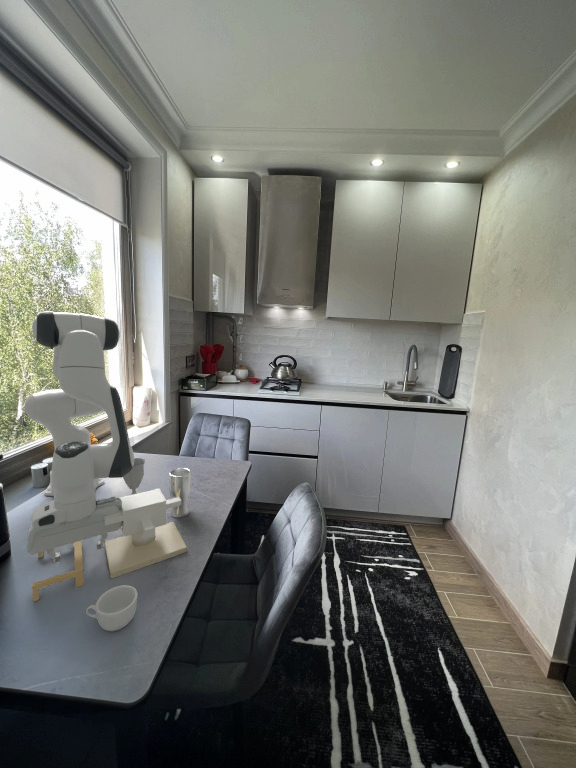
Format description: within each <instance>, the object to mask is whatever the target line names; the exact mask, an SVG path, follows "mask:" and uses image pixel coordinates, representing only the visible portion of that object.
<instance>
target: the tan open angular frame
mask: <svg viewBox="0 0 576 768" xmlns="http://www.w3.org/2000/svg"><path fill="white" fill-rule="evenodd" d="M82 545H83V543H82V540H81V541H78V542H74V543H73V553H74V555H73V556H74V569H73V570H70V571H68V572H64V573H62V574H58V575H55V576H52V577H49V578H45V579H41V580H38V581H35V582H32V585H31V589H32V602H36V601H40V589H43V588H46V587H49V586H52V585H55V584H58V583H62V582H65V581H68V580H71V579H74V581H75V583H74V584H75V588H77V587H80V586H83V585H84V582H85V580H84V579H85V578H84V576H85V575H84V562H83V561H84V560H83V549H82V548H83V546H82ZM37 557H38V559H41V558H43V557H44V551H43V552H39V553H37Z"/></svg>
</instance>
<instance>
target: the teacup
mask: <svg viewBox="0 0 576 768" xmlns="http://www.w3.org/2000/svg"><path fill="white" fill-rule="evenodd" d="M137 606H138V590H137V589H136V588H135V587H134V586H132V585H129V584H128V585H127V584H123V585H118V586H113V587H112V588H110V589H107V590H106V591H105V592H103V593H102V594H101V595H100V596H99V597H98V598H97V600H96V602H95V604H91V605H89V606H87V608H86V610H85V614H86V615H87V617H90V618H93V619H96V620H97V622H98V625H99V627H100V628H102V629H103V630H105V631H107V632H115V631H119V630H121V629H123V628H125V627H126V626H127V625H128V624H129V623H130V622H131V621H132V619H133V618H134V616H135V613H136V610H137ZM90 609H93V610H94V611H95V613H91V612H89V610H90Z"/></svg>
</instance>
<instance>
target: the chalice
mask: <svg viewBox="0 0 576 768" xmlns="http://www.w3.org/2000/svg"><path fill="white" fill-rule="evenodd" d="M145 463H146V459H145V458H142V457H141V458H138V457H136V458H135V457H134V465H133V468H132V470H131V471H130V472H129V473H127V474H126V475H125V476H123V477H122V479H123V480H124V483H125V484H126V486H127V487H128V488H129V490H132V492H131V494H130V495H133V494H137V491H136V490H137V489H138V488H139V487H140V485H141V484H142V481H143V479H144V475H145V469H144V467H145Z"/></svg>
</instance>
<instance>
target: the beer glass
mask: <svg viewBox="0 0 576 768" xmlns="http://www.w3.org/2000/svg"><path fill="white" fill-rule="evenodd" d="M191 479H192V478H191V470H190V468H187V467H176V468H173V469H172V470H170V471H169V479H168V485H169V486H168V488H169V489H168V490H169V495H170V499H173V498H177V497H180V499H181V505H180V506H176V507H173V508H170V509H171V510H170V516H171V517H172V518H175V519H180V518H181V519H182V518H185V517H186V516H187V515H189V513H190V506H189V499H190V494H191V489H192V488H191V487H192V480H191Z"/></svg>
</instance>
